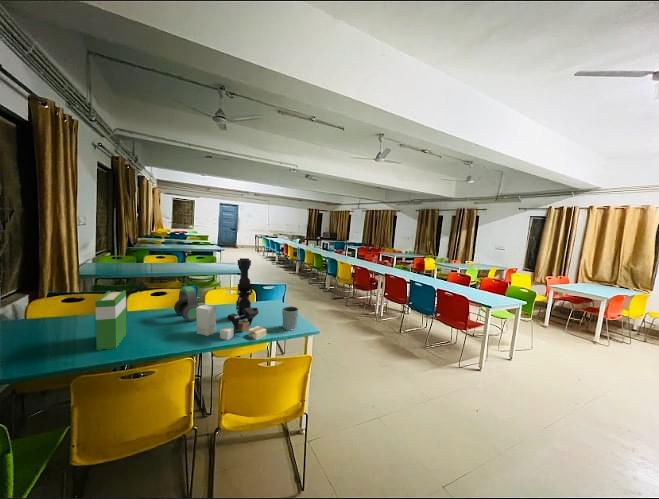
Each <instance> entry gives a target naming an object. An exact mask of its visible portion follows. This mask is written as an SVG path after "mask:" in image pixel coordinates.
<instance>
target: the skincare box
mask: <svg viewBox="0 0 659 499" xmlns="http://www.w3.org/2000/svg"><path fill="white" fill-rule="evenodd" d="M216 308H217V307H216V305H211V304H202V305H199V307H196V311H197V319H196V334H197V335H202V336H207V337H209V336H211V335H213V334H216V333H217V315H216V314H217V311H216Z"/></svg>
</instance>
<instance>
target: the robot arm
mask: <svg viewBox="0 0 659 499" xmlns="http://www.w3.org/2000/svg"><path fill="white" fill-rule="evenodd" d="M251 265H252V260H251V259H250V258H248V257H247V258H246V257H245V258H244V257H241V258H239V259H237V266H238V269H239V272H240V278H239V280H238V283H237V300H236V301H235V305H236V306H235V310H236V313H237V314H236V313H231V314H228V315H227V318H226V320H228V321H230V322H231V323H232V325H233V328H234V331H236V332H237V331H238V322H239V321H242V320H247V321H248V322H249V327H250V326H251V324H252V323H253V319H254V318H255V317H256V316H257V315H259V308H257V307H251V306H252V305H251V304H252V303H251V301H250V296H252V294H253V284H252V283H251V279H250V278H249V270H250V266H251ZM238 332H239V331H238Z"/></svg>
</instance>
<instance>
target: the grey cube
mask: <svg viewBox="0 0 659 499" xmlns="http://www.w3.org/2000/svg"><path fill="white" fill-rule="evenodd" d="M219 330H220V331H219V338H220V339H221V340H226V341H228V340H230V339H232V338H233V337H234V335H235V334H234V333H235V328H234V327H232V326H224V327H222V328H221V329H219Z"/></svg>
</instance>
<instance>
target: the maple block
mask: <svg viewBox="0 0 659 499" xmlns="http://www.w3.org/2000/svg"><path fill="white" fill-rule="evenodd" d="M247 332H248V334H247V336H248V337H250V338H252V339H253V340H259V339H261V338H264V337H266V336H267V329H266V328H265V327H262V326H260V325H257V326H254V327H252V328H249V329H248V331H247Z"/></svg>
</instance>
